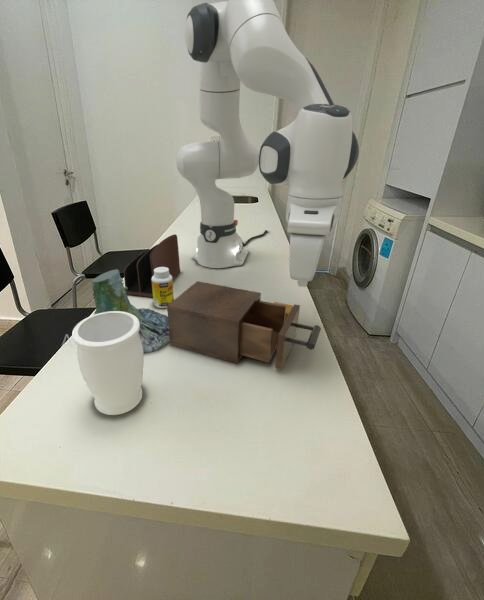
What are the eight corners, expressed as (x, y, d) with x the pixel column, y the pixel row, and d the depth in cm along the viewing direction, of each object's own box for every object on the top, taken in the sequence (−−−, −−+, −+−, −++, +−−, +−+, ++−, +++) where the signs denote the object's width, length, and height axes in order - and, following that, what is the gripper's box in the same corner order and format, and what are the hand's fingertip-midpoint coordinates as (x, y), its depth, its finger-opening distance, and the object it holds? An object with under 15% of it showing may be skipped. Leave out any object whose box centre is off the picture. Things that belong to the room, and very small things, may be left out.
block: (273, 317, 82) (274, 301, 80) (290, 321, 80) (292, 305, 78) (268, 325, 79) (269, 309, 77) (286, 330, 77) (288, 313, 75)
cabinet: (258, 330, 77) (261, 292, 73) (237, 363, 66) (238, 321, 62) (198, 316, 84) (197, 281, 79) (169, 344, 73) (166, 305, 69)
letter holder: (180, 272, 110) (178, 231, 104) (156, 298, 94) (152, 251, 87) (153, 270, 113) (149, 229, 107) (125, 294, 97) (118, 248, 90)
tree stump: (167, 362, 68) (136, 287, 60) (84, 372, 74) (45, 305, 66) (183, 314, 84) (160, 249, 76) (114, 326, 89) (85, 267, 81)
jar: (129, 428, 53) (116, 351, 46) (76, 412, 56) (56, 338, 49) (158, 384, 62) (150, 314, 55) (110, 373, 65) (98, 306, 58)
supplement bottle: (159, 311, 87) (156, 275, 82) (150, 303, 91) (146, 268, 87) (177, 305, 90) (175, 270, 85) (167, 297, 94) (165, 263, 89)
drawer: (319, 342, 70) (325, 309, 67) (308, 377, 60) (314, 341, 57) (233, 322, 79) (234, 292, 75) (211, 350, 69) (210, 318, 65)
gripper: (299, 199, 67) (292, 263, 74) (286, 225, 50) (278, 304, 57) (333, 200, 65) (322, 266, 71) (330, 227, 48) (317, 310, 55)
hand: (302, 283), depth 64 cm, fingers closed
